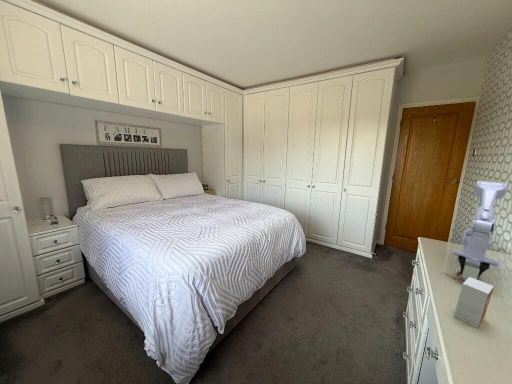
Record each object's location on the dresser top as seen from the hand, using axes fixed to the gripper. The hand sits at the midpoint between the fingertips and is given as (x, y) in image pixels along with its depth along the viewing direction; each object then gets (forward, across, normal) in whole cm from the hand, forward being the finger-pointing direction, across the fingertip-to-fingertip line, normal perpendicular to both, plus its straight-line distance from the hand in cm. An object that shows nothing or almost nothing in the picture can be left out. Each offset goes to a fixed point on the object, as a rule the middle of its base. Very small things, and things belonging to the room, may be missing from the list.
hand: (469, 274), depth 95 cm
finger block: (+2, 0, 0) cm, 2 cm away
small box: (+4, 0, -30) cm, 30 cm away
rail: (+3, 0, +4) cm, 5 cm away
